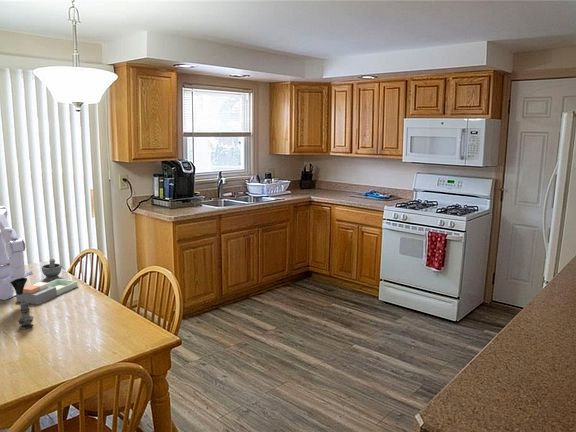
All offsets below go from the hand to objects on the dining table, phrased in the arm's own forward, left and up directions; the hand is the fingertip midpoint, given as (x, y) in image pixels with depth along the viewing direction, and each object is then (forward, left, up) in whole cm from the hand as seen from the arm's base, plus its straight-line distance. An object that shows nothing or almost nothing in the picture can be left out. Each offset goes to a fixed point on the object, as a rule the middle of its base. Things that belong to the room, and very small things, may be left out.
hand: (19, 294), depth 217 cm
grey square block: (0, +9, -6) cm, 11 cm away
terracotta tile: (0, +6, -1) cm, 7 cm away
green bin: (0, +23, -6) cm, 24 cm away
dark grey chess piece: (+21, -18, -6) cm, 28 cm away
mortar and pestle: (-16, +36, -6) cm, 40 cm away
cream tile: (0, +12, -1) cm, 12 cm away
